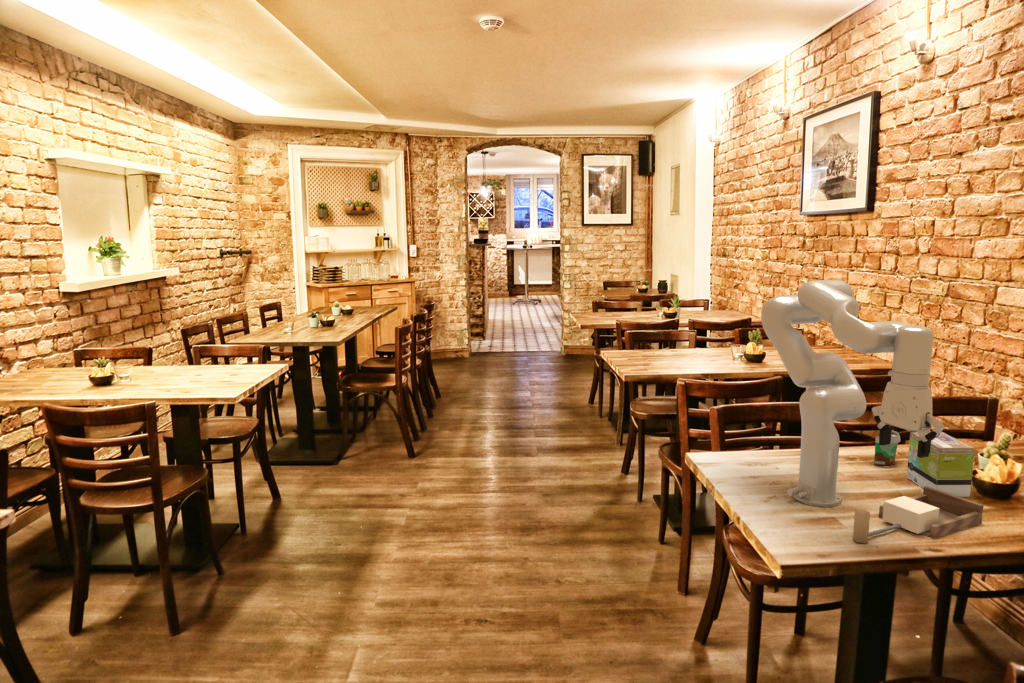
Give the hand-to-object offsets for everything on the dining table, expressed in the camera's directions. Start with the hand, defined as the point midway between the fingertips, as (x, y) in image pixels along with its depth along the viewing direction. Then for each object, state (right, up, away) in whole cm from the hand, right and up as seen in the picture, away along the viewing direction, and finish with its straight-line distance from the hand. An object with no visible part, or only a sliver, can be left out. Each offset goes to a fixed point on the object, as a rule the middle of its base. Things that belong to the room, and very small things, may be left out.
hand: (903, 450), depth 156 cm
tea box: (+31, -17, +36) cm, 51 cm away
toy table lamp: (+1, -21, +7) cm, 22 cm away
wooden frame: (+14, -20, +14) cm, 28 cm away
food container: (+29, -14, +57) cm, 65 cm away
